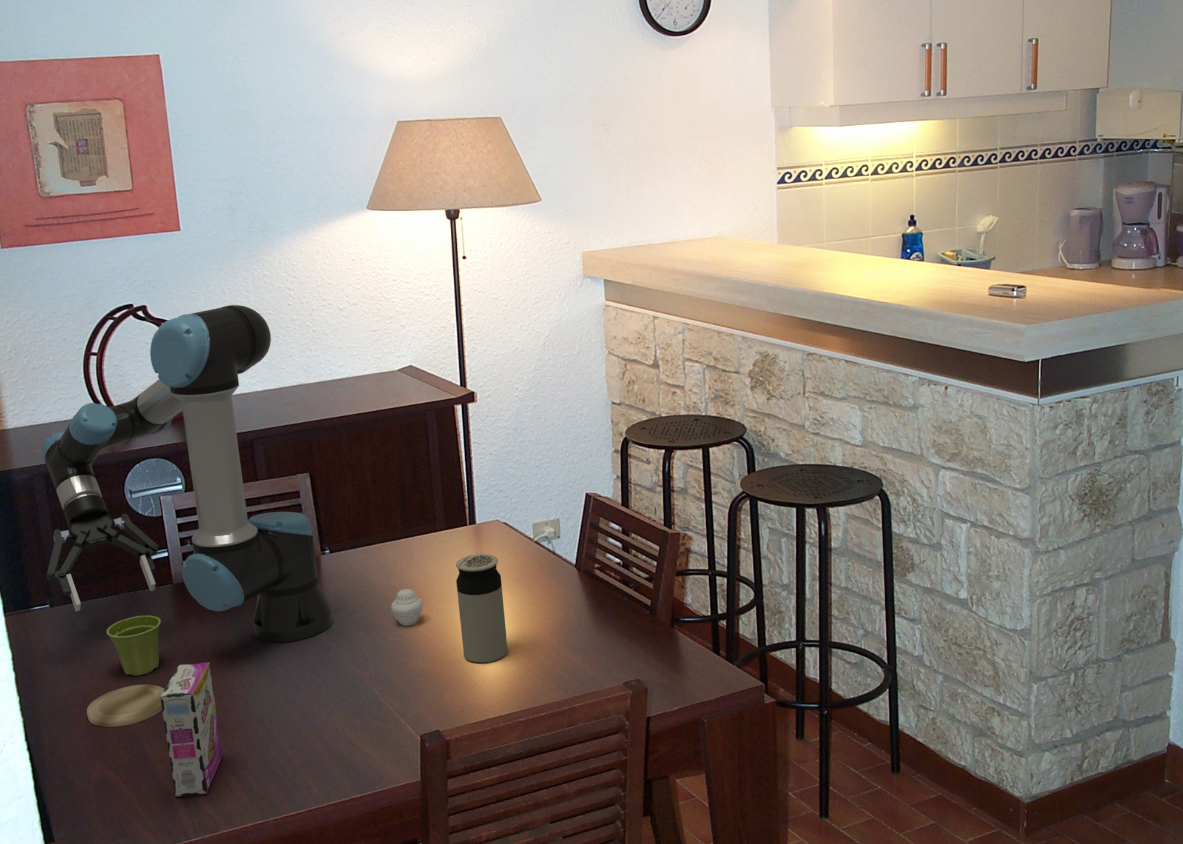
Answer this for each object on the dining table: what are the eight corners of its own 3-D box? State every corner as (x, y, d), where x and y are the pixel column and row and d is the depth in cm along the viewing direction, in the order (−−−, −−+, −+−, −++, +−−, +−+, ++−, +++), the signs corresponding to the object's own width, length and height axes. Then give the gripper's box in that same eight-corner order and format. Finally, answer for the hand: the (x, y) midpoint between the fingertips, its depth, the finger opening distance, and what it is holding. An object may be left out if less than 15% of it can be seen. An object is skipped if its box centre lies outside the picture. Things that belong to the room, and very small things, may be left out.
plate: (181, 691, 211) (180, 684, 210) (143, 727, 198) (142, 720, 198) (114, 690, 213) (112, 683, 212) (72, 726, 200) (71, 719, 200)
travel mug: (515, 647, 219) (507, 555, 214) (494, 666, 212) (485, 571, 207) (477, 642, 222) (468, 551, 218) (455, 660, 215) (446, 567, 211)
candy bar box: (209, 795, 176) (192, 693, 172) (175, 798, 176) (157, 697, 172) (225, 756, 187) (210, 660, 183) (193, 759, 187) (177, 663, 183)
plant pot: (117, 685, 215) (109, 641, 213) (111, 666, 223) (103, 623, 221) (171, 671, 219) (164, 628, 217) (163, 653, 227) (156, 611, 225)
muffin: (386, 627, 232) (382, 593, 230) (403, 614, 237) (399, 582, 236) (414, 630, 229) (410, 596, 228) (430, 617, 235) (426, 584, 233)
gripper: (146, 499, 242) (180, 588, 234) (13, 529, 228) (45, 625, 220) (149, 479, 236) (184, 570, 228) (14, 509, 223) (46, 607, 214)
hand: (116, 597), depth 224 cm, fingers open, 13 cm apart
